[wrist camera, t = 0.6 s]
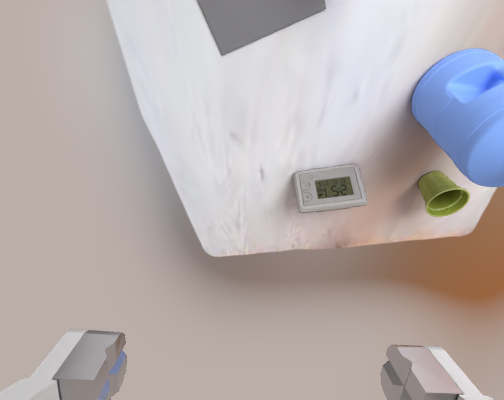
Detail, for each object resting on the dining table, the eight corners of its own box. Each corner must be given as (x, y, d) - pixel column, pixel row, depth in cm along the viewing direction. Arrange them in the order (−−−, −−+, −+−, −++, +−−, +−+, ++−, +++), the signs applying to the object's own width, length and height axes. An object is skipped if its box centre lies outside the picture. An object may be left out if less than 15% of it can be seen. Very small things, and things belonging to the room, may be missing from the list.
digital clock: (361, 161, 68) (374, 191, 61) (351, 189, 75) (362, 219, 67) (294, 160, 68) (299, 189, 60) (290, 188, 74) (294, 217, 67)
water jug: (460, 130, 62) (559, 226, 42) (394, 118, 60) (466, 214, 40) (518, 55, 52) (688, 137, 31) (440, 39, 50) (569, 114, 30)
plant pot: (458, 165, 69) (478, 188, 63) (440, 193, 75) (457, 217, 69) (420, 165, 69) (436, 188, 63) (405, 193, 76) (419, 217, 69)
